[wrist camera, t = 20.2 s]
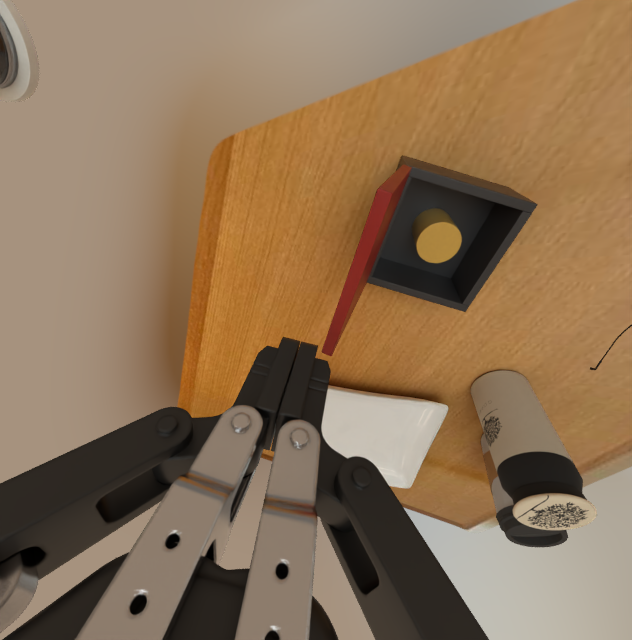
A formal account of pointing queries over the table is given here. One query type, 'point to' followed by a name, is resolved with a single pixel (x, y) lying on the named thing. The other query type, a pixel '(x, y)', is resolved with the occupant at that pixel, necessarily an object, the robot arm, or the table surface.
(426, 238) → the mustard yellow cylinder
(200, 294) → the table surface
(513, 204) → the open box
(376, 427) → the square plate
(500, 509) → the coffee cup
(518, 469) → the travel mug
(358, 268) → the box lid
